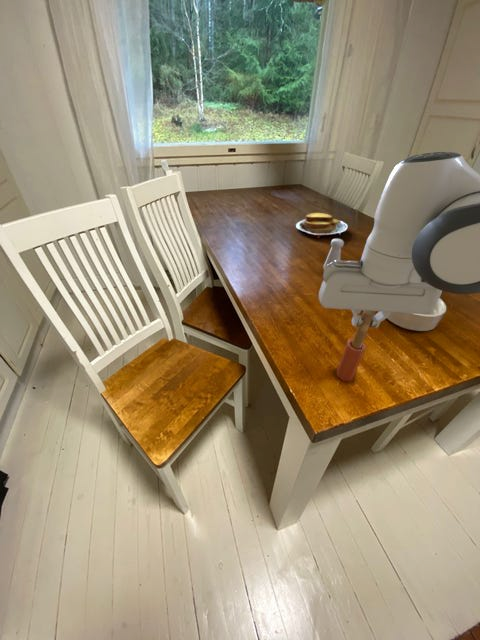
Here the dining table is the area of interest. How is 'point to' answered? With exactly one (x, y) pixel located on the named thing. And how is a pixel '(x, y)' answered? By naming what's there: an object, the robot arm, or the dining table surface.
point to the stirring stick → (362, 329)
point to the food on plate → (321, 224)
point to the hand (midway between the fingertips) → (364, 325)
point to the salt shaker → (334, 251)
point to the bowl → (419, 318)
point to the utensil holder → (350, 361)
